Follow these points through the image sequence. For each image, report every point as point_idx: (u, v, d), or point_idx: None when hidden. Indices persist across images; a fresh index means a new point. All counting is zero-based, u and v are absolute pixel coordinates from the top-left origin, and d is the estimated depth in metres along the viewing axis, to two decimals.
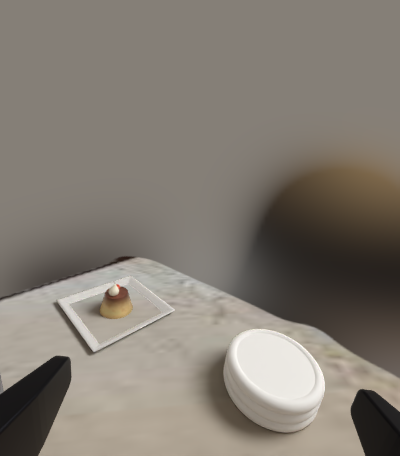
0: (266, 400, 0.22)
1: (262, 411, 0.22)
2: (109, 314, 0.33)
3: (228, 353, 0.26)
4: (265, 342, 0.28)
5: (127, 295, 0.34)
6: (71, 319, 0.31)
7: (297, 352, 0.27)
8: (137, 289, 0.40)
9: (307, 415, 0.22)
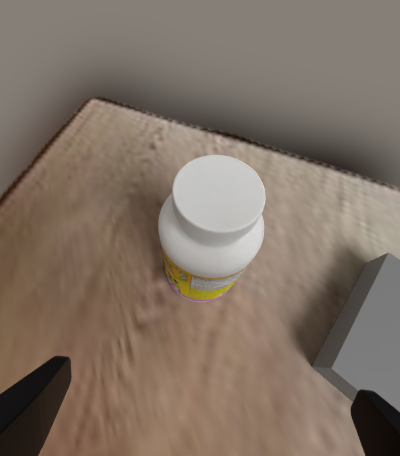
0: None
1: None
2: None
3: None
4: None
5: None
6: None
7: None
8: None
9: None
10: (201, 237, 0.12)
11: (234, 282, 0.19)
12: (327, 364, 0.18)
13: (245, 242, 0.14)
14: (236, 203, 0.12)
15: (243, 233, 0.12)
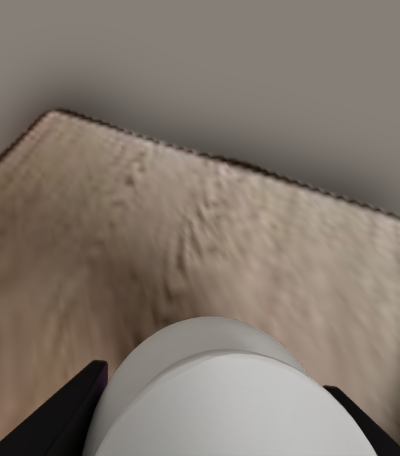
0: None
1: None
2: None
3: None
4: None
5: None
6: None
7: None
8: None
9: None
10: None
11: None
12: None
13: None
14: None
15: None
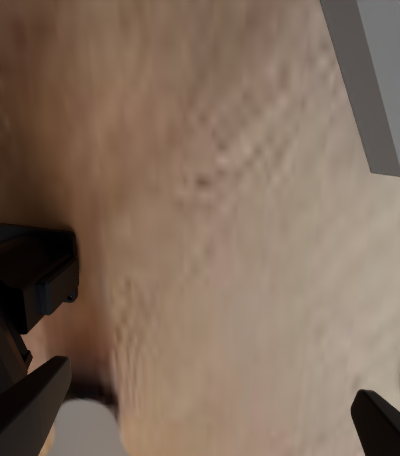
0: None
1: None
2: None
3: None
4: None
5: None
6: None
7: None
8: None
9: None
10: None
11: None
12: None
13: None
14: None
15: None
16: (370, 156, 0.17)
